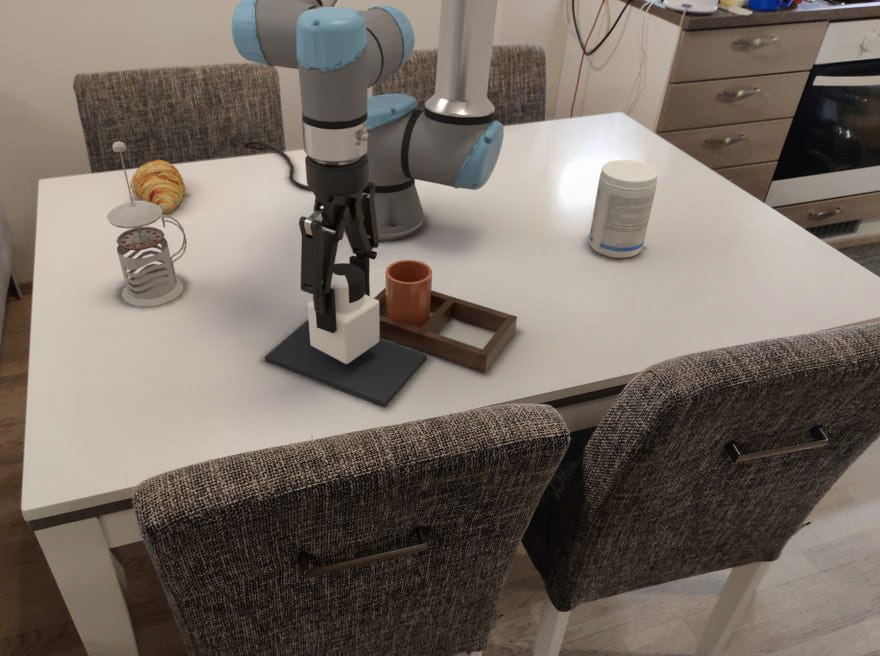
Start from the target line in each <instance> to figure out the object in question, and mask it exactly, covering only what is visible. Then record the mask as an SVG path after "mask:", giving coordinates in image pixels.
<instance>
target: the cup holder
mask: <svg viewBox="0 0 880 656" xmlns="http://www.w3.org/2000/svg"><path fill="white" fill-rule="evenodd" d="M373 298H374V299H376V300H378V301H379V338H380V337H381V338H384V339H385V340H386V339H387V340H390V341H393V342H395V343H398V344H401V345H404V346H407V347H410V348H413V349H415V350H418V351H421V352H425V353H427V354H430V355H433V356H436V357H438V358H442V359H444V360H447V361H450V362H453V363H456V364H460V365H462V366H465V367H468V368H470V369H474V370H477V371H478V372H479V371H480V372H483V373H486V372H487V371H488V369H489V368H490V367H491V365H492V364H493V363H494V361H495V360H497V357H498V356H499V355H500V353H501V352H502V351H503V349H504V348H505V347H506V345H508V343H509V342H510V340H511V339H512V337H513V336H514V335H515V334H516V330H517V322H518V316H516V315H514V314H510V313H508V312H507V313H506V312H504V311H501V310H498V309H493V308H490V307H487V306H483V305H480V304H477V303H474V302H470V301H467V300H464V299H462V298H457V297H455V296H451V295H449V294H446V293H442V292H438V291H436V290H432V289H431V312H434V313H433V314H432V315H430V318H429V320H428V321H427V322H426V323H425V324H424V325H423V326H422V327H421V328H417V327H414V326H411V325H408V324H405V323H402V322H399V321H396V320H393V319H390V318H387V317H386V316H385V315H383V314H384V313H386V286H385V287H384V288H383V289H382V290H381V291H380V292H378V294H376V295H375V297H373ZM453 319H456V320H459V321H463V322H465V323H468V324H471V325H475V326H478V327H481V328H484V329H488V330H490V331H494V332H495V333H494V334H493V335H492V337H491V338H490V339H489V341H488V342H486V344H485V345H484V347H483V348H482V347H481V348H480V347H477V346H474V345H472V344H468V343H466V342H462V341H459V340H456V339H453V338H451V337H448V336H445V335H441V334H440V333H441V332H442V331H443V329H444V328H445V327H446V326H447V325H448V324H449V322H450V321H451V320H453Z"/></svg>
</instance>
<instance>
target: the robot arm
mask: <svg viewBox="0 0 880 656" xmlns="http://www.w3.org/2000/svg"><path fill="white" fill-rule="evenodd" d="M337 3H338V0H240V1H239V3H238V4H237V6H236V7H235V9H234V11H233V13H232V17H231V18H232V19H231V36H232V37H231V38H232V42H233V44H234V46H235V49H236V50H237V52H238V54H239V55H240V56H241V57H242V58H244V59H245V60H246V61H248V62H249V61H250V62H252V63H256V64H261V65H264V66H268V67H280V68H286V69H292V70H293V69H294V70H298V79H299V89H300V100H301V118H302V119H301V123H302V124H301V125H302V126H301V127H302V143H303V152H304V154H305V155H306V156H305V158H304V163H305V164H304V165H305V176H306V177H305V178H306V184H307V185H306V184H302V183H300V182H299V181H297V180H295V179H294V170H295V167H294V165H293V162H292V161H291V159H290V158H289V156H288V155H287V154H286V153H285V151H282V150H281V149H278V148H276V147H274V146H272V145H270V144H267V143H265V142H261V141H259V140H249V141H247V142H245V143H244V144H243V148H244V147H245V148H247V147H249V146H250V145H257V146H261V147H265V148H267V149H269V150H271V151H273V152H275V153H277V154H279V155H280V156H282V157H283V158H284V159H285V160H286V162H287V164H288V165H289V169H290V170H289V180H290V182H291V183H292V184H293V185H295V186H296V187H299V188H301V189H305V190H308V191H312V193H313V194H314V204H313V213H312V214H310V215H309V216H308V217H306V216H304V215H302V216H301V217H300V218H299V220H298V226H299V230H300V234H301V235H300V236H301V245H300V247H301V249H300V250H301V251H300V252H301V253H300V291H302V292H304V293H307V294H311V295H312V299H313V300H312V301H314V310H315V312H316V324H317V328H319V329H322V330H325V331H328V332H331V333H335V332H336V331H337V326H336V307H335V289H332V288H330V287H331V281H332V275H333V270H334V264H336V258H337V253H338V248H339V247H338V246H339V242H340V241H342V240H343V238H344V233H345V236H346V237H347V240H348V243H349V246H350V249H351V251H352V254H354V255H351V256H349V257H348V260H349V262H348V264H353V265H356V266H358V267H360V268H361V269H362V270H363V271H364V273H365V295H368V296H370V295H371V294H370V293H371V291H370V290H371V289H370V272H371V271H370V270H371V269H370V259H371V260H376V259H377V257H378V251H375V250H373V249H378V247H379V244H380V242H383V241H384V242H385V241H396V240H402V239H405V238H408V237H411V236H414V235H415V234H417V233H418V232H419V231H420V230H421V229H422V228H423V226H424V218H425V217H424V209H423V205H422V203H421V200H420V197H419V194H418V190H417V187H416V180H417V181H421V182H428V183H432V184H438V185H442V186H446V187H452V188H453V189H465V190H471V191H476V190H479V189H481V188H483V187H484V186H485V185H486V183H487V182H488V181H489V180H490V178H491V176H492V174H493V172H494V170H495V167H496V165H497V162H498V160H499V156H500V153H501V150H502V146H503V141H504V124H503V123H501V122H500V121H499V120H495V111H496V107H495V105H494V104H493V103H492V102H491V100H490V99H489V97H488V91H489V90H488V89H489V83H490V82H489V81H490V72H491V71H490V70H491V62H492V53H493V44H494V35H495V26H496V17H497V16H496V15H497V8H498V7H497V6H498V0H441V1H440V15H439V30H438V42H437V43H438V44H437V55H436V56H437V58H436V71H435V72H436V73H435V86H434V87H435V88H434V93H433V94H432V95H431V97H430V98H428V99H427V100H426V101H425V102H424V109H420V108H418V106H419V105H418V102H417V101H418V100H417V99H416V98H415V97H414V96H412V95H410V94H407V93H385V94H378V95H374V96H370V97H369V96H368V90H369V89H370V88H372V87H373V86H374V85H376V84H378V83H379V82H381V81H383V80H385V79H386V78H388V77H389V76H392V75H394V74H396V73H397V72H398V71H399V70H400V69H401V67H402V66H404V65H405V64H406V63H407V62H408V61H409V59H410V58H411V56H412V54H413V52H414V48H415V43H416V42H415V32H414V28H413V26H412V24H411V21H410V20H409V18H408V17H407V15H406V14H405V13H404V12H402V11H401V10H400V9H398V8H396V7H395V6H392V5H380V6H372V7H370V8H368V9H367V10H359V9H358V10H357V9H354V8H350V7H343V6H335V5H336V4H337ZM326 229H327V230H326ZM322 282H323V283H322ZM370 297H371V296H370Z"/></svg>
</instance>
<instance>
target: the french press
mask: <svg viewBox="0 0 880 656" xmlns="http://www.w3.org/2000/svg"><path fill="white" fill-rule="evenodd" d="M111 147H112V151H113V152H115V153H119V155H120V160H121V163H122V168H123V173H124V176H125V180H126V184H127V189H128V193H129V197H130V201H126V202H124V203H121V204H119V205H116V206H114V207H113V209H111V210H110V211H108V213H107V216H106V218H107V221H108V223H109V224H110V225H112V226H115V227H116V228H119V229H126V230H125V231H123V232H122V233H120V234H119V235H118V236H117V239H116V243H117V247H116V252H117V256H118V259H119V263H120V268H121V272H122V276H123V279H124V282H125V287H123V289H122V293H121V298H122V299H123V300H124V302H126V303H128V304H130V305H132V306H136V307H144V308H145V307H157V306H159V305H163V304H166V303H167V304H168V303H169V302H171V301H173V300H174V299H176V298H179V296H180V295H181V294H182V292H183V291H184V283H183V281H181V279H180V278H179V277H177V276H176V270H175V266H174V263H175V262H176V261H178V260H180V259H181V258H182V257H183V255H184V254H185V252H186V250H187V244H188V242H187V237H186V233H185V230H184V227H183V226H182V224H181V223H180V221H179V220H177V219H175V218H174V217H172V216H170V215H169V216H168V215H165V214H164V215H162V213H163V211H162V209H161V207H160V206H159V205H156V204H154V203H151V202H147V201H144V200H133V196H132V192H131V191H132V190H131V188H130V182H129V179H128V175H127V174H128V173H127V171H126V166H125V162H124V157H123V152H125V151H127V146H126V143H124V142H122V141H120V140H118V141H114V142H113V144H112V146H111ZM165 218H169V220H168V219H165ZM160 219H161V222H162V226H163V228H164V229H165V228H166V223H170V224H173V225H175V226H176V227H178V229H179V230H180V231H181V233H182V235H183V240H182V244H181V247H180V248H179V250H178V251H176V252H175V253H174V254H172V255H171V253H170V247H169V244H168V240H167V239H166V237H165V233H164V231H163V230H162V229H159V228H157V227H155V226H154V227H153V226H150V225H152V224H154V223H156V222H157V221H159V220H160ZM170 219H171V220H170ZM148 249H150V250H148ZM152 249H158V250H159V251H160V252H159V251H156V250H152ZM143 250H144V251H143ZM145 250H146V251H145ZM182 250H183V251H182ZM131 251H133V252H131ZM141 251H143V252H141ZM129 252H131V253H130V254H129V255H127V253H129ZM139 252H141V253H140V254H139ZM181 252H182V253H181ZM180 253H181V254H180ZM138 254H139V255H138ZM179 254H180V255H179ZM125 255H127V256H125ZM136 255H138V256H137V257H135V256H136ZM149 255H150V256H149ZM177 255H179V256H177ZM175 256H177V257H176V258H175ZM173 258H174V259H173ZM154 262H158V263H159V264H157V263H154ZM139 269H141V270H139ZM127 270H128V271H127ZM137 270H139V271H138V272H137Z"/></svg>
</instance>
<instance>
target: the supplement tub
mask: <svg viewBox="0 0 880 656" xmlns="http://www.w3.org/2000/svg"><path fill="white" fill-rule="evenodd" d="M658 175H659V173H658V171H657V169H656V168H655V167H653V166H652V165H650V164H648V163H644V162H642V161H637V160H631V159H619V160H618V159H617V160H611V161H609V162H606V163H604V164H603V165H602V167H601V171H600V173H599V179H598V182H597V183H598V184H597V188H596V189H597V190H596V196H595V201H594V207H593V212H592V213H593V214H592V218H591V225H590V230H589V238H588V243H589V246H590V248H592V250H594V251H595V252H596V253H598V254H600V255H603V256H606V257H610V258H614V259H615V258H616V259H625V258H630V257H634V256H636V255H638V254H639V253H640V252H641V251H642V249H643V247H644V243H645V238H646V234H647V230H648V225H649V221H650V216H651V213H652V208H653V203H654V198H655V194H656V188H657V183H658Z"/></svg>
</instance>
